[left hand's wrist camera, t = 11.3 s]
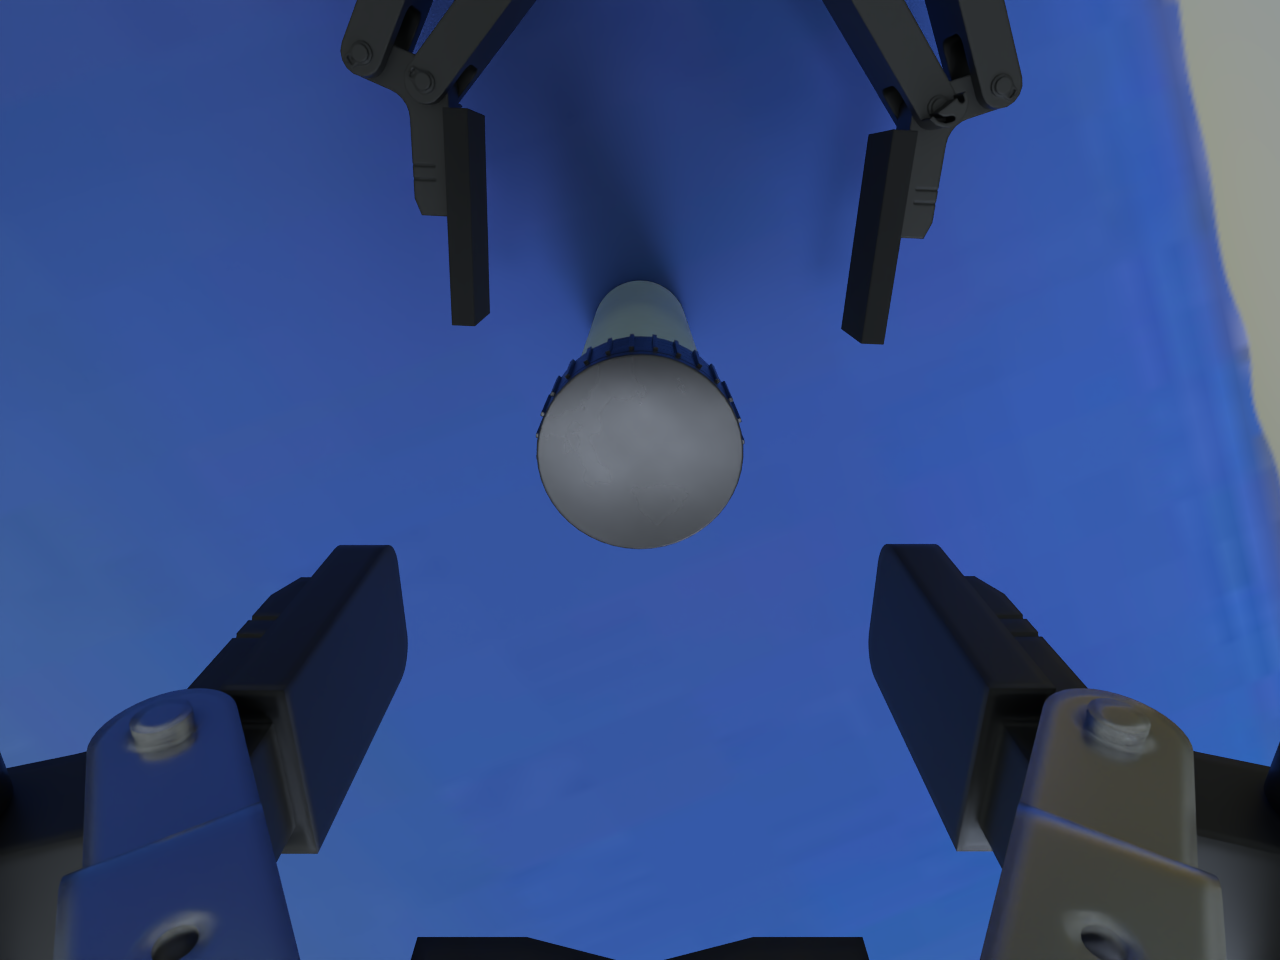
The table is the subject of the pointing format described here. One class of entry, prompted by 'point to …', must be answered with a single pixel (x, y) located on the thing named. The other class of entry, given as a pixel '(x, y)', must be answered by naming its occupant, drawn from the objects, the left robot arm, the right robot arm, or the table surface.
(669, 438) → the lid
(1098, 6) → the table surface
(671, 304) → the pale green rounded cylinder
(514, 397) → the table surface
